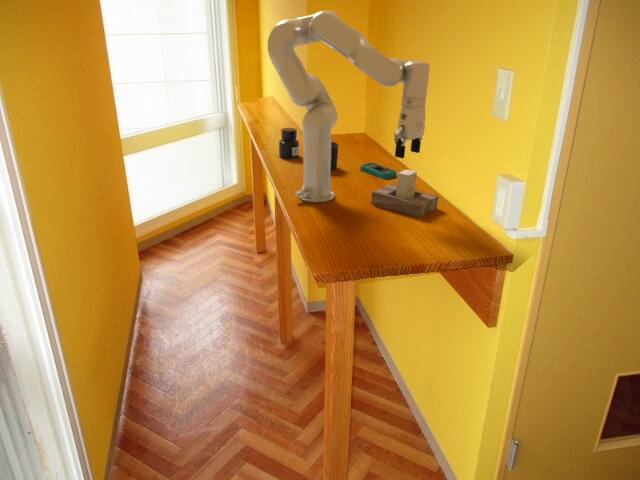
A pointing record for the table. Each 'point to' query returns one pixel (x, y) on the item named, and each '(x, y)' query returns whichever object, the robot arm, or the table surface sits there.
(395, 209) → the rail
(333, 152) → the pen holder
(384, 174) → the digital multimeter
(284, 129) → the ink bottle
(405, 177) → the skincare box
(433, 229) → the table surface
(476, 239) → the table surface
